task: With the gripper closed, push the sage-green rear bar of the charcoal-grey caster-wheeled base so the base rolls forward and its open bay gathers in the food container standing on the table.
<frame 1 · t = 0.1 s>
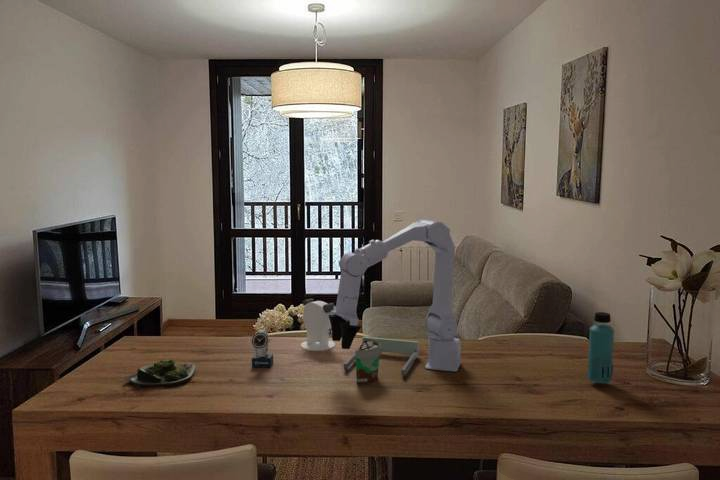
hand: (340, 344, 166), 11 cm above the table, tool pointing down, fingers open, 7 cm apart
salad plate: (162, 379, 171), on the table
watch: (262, 366, 180), on the table
rolling base: (382, 356, 180), point 3 cm above the table, slide at 0.0 cm
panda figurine: (318, 346, 199), on the table
beverage bottle: (599, 385, 164), on the table
food container: (370, 379, 169), on the table
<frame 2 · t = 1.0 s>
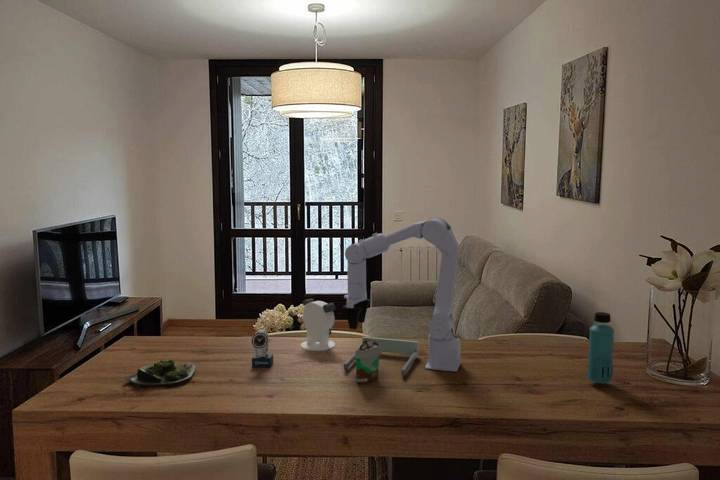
hand: (357, 325, 185), 10 cm above the table, tool pointing down, fingers open, 7 cm apart
nothing on the table moved.
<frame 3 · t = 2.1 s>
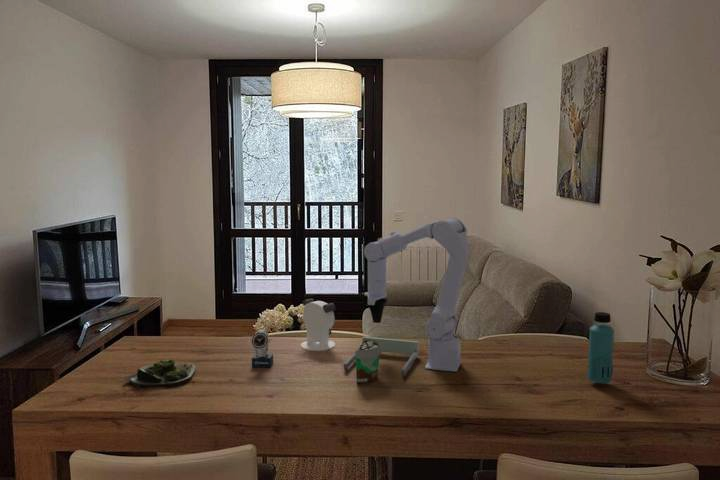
hand: (377, 322, 189), 10 cm above the table, tool pointing down, fingers closed
nothing on the table moved.
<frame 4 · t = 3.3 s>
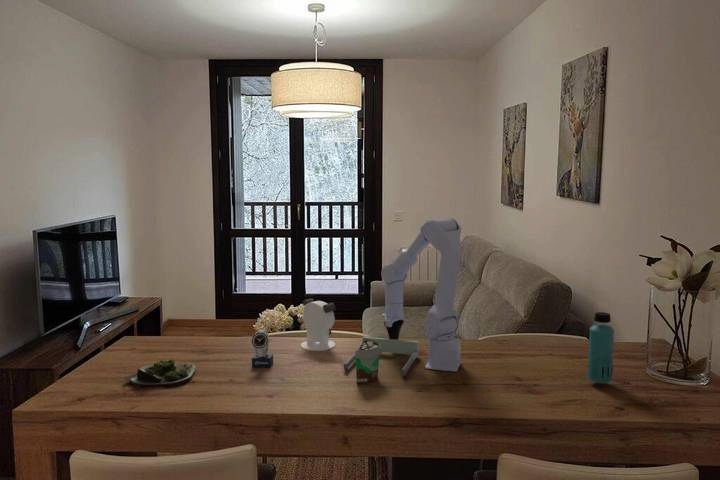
hand: (393, 342, 194), 2 cm above the table, tool pointing down, fingers closed
nothing on the table moved.
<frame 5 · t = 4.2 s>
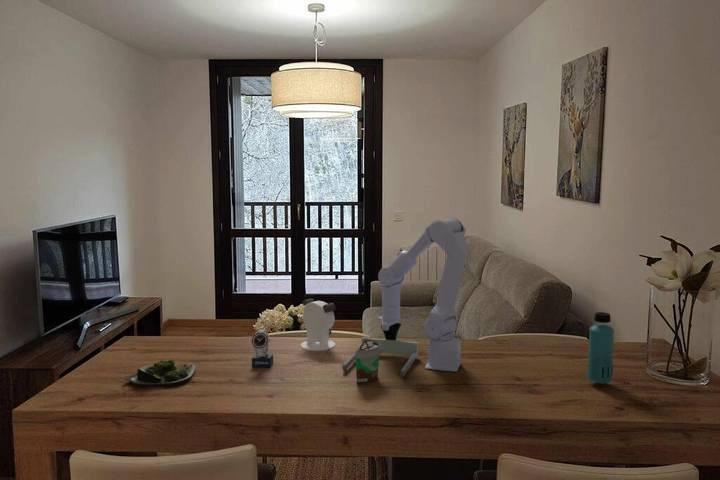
hand: (391, 346, 190), 2 cm above the table, tool pointing down, fingers closed
rolling base: (381, 357, 180), point 3 cm above the table, slide at 0.8 cm, touching gripper
everything else where it was.
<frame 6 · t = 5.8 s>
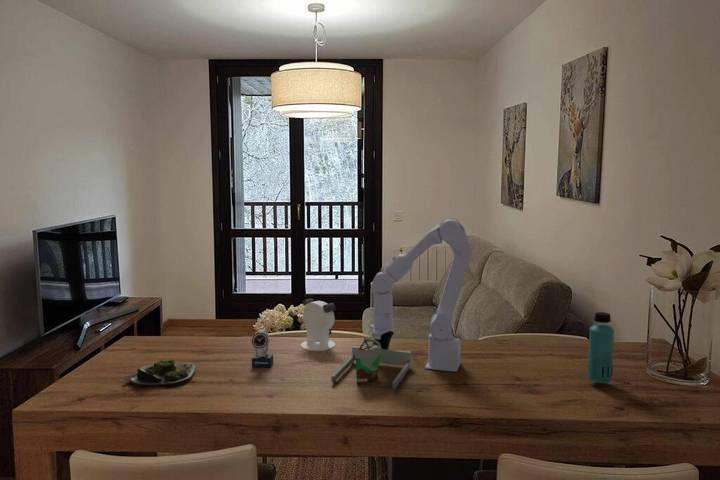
hand: (383, 355, 181), 2 cm above the table, tool pointing down, fingers closed
rolling base: (372, 367, 171), point 3 cm above the table, slide at 10.3 cm, touching gripper
everything else where it was.
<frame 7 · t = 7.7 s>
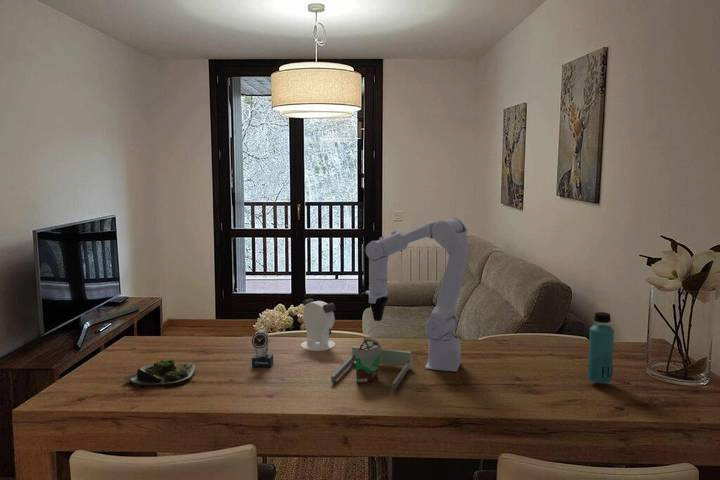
hand: (377, 320, 190), 11 cm above the table, tool pointing down, fingers closed
rolling base: (372, 367, 171), point 3 cm above the table, slide at 10.4 cm
everything else where it was.
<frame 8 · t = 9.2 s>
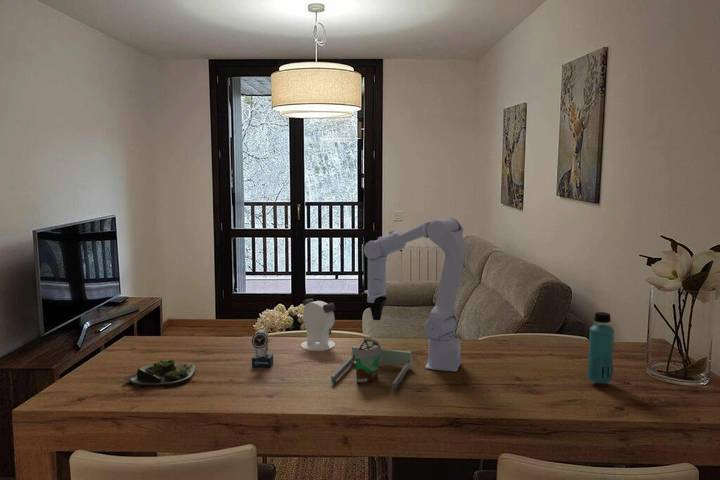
hand: (376, 319, 192), 10 cm above the table, tool pointing down, fingers closed
nothing on the table moved.
at the end: rolling base slide at 10.4 cm; food container 0.1 cm off-centre on the rolling base, point 0.0 cm above the rolling base's base; food container moved 0.2 cm from its start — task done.
